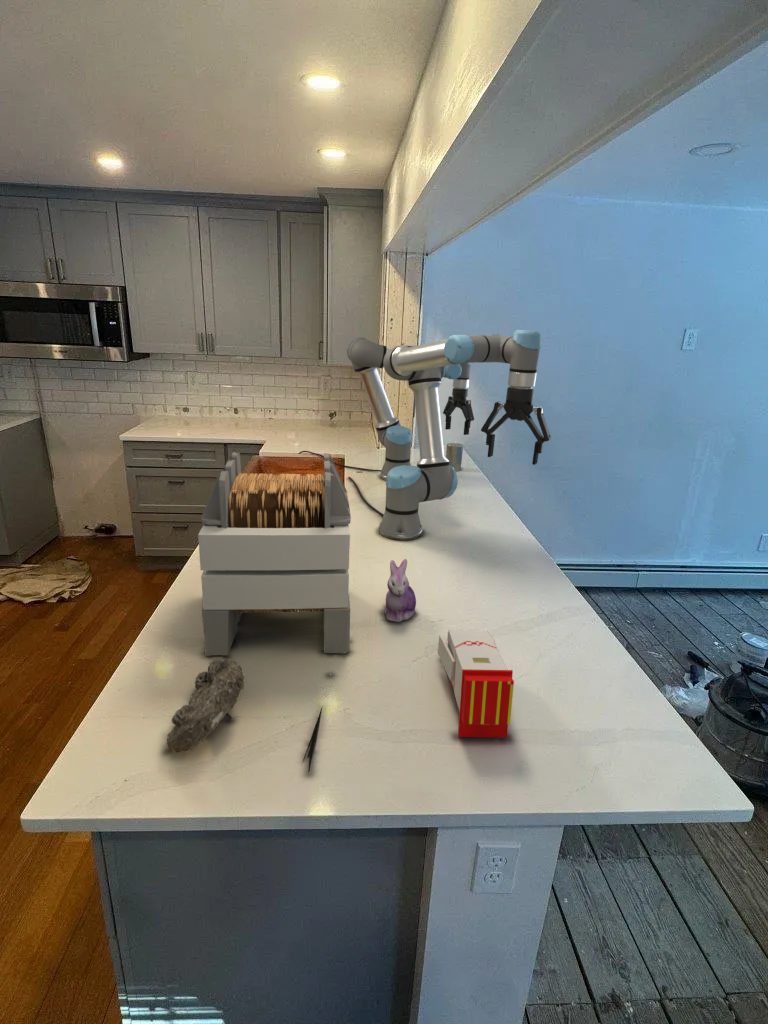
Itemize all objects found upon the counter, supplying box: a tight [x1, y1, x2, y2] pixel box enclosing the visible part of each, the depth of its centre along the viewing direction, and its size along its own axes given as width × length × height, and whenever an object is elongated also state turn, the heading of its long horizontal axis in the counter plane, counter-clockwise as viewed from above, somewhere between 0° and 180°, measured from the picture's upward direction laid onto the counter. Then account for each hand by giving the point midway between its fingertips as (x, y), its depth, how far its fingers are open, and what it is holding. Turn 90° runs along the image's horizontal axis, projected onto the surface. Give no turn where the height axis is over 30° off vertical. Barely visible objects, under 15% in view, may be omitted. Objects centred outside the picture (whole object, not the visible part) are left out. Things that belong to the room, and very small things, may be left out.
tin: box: [445, 442, 464, 472], centre depth 283 cm, size 8×8×12 cm
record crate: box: [197, 451, 352, 657], centre depth 136 cm, size 34×33×41 cm
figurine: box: [384, 558, 417, 623], centre depth 145 cm, size 9×10×15 cm
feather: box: [301, 673, 332, 771], centre depth 108 cm, size 2×28×2 cm
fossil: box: [166, 658, 245, 754], centre depth 106 cm, size 22×10×15 cm
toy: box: [437, 628, 515, 738], centre depth 117 cm, size 12×13×30 cm
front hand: (512, 460), depth 168 cm, fingers open, 13 cm apart
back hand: (456, 431), depth 279 cm, fingers open, 13 cm apart
